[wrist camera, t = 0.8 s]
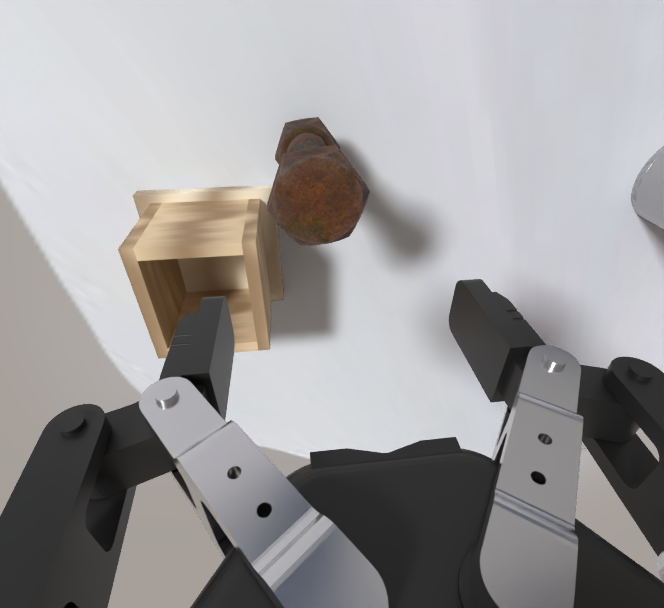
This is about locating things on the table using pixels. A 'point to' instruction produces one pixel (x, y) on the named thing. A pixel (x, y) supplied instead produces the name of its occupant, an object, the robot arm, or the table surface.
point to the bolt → (315, 186)
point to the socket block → (205, 260)
